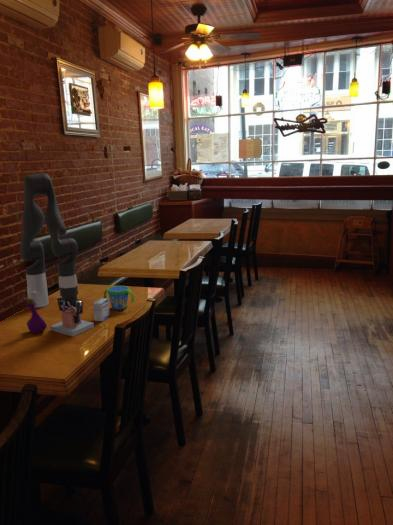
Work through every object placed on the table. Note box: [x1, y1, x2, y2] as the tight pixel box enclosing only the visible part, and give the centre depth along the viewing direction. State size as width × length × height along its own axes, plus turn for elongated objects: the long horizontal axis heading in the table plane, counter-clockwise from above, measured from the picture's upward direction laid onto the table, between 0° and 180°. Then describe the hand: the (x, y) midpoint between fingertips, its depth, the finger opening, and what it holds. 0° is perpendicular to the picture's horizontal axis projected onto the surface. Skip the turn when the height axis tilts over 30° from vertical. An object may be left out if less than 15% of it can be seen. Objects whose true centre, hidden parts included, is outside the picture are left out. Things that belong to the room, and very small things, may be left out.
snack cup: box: [103, 285, 135, 311], centre depth 213 cm, size 16×10×10 cm
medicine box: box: [92, 297, 111, 322], centre depth 199 cm, size 8×4×9 cm, turn 168°
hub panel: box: [50, 319, 95, 338], centre depth 188 cm, size 14×12×6 cm
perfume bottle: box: [25, 291, 48, 335], centre depth 184 cm, size 8×8×18 cm
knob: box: [61, 308, 82, 328], centre depth 187 cm, size 5×6×7 cm
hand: (71, 321), depth 188 cm, fingers open, 6 cm apart
